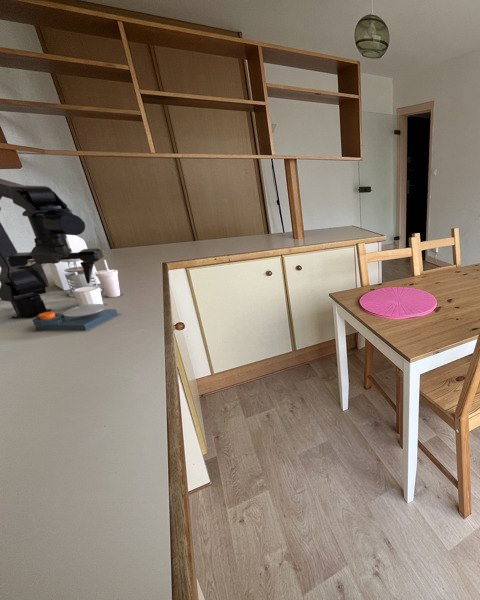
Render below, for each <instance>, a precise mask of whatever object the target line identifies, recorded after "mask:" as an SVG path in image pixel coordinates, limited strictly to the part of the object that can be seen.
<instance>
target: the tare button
mask: <svg viewBox="0 0 480 600" xmlns="http://www.w3.org/2000/svg"><path fill="white" fill-rule="evenodd" d="M55 313H56V312H54V311H49V312H45V313H41V314H39V315H38V316H37V317H39V318H40V320H46V319H51V318H54V317H56V316H55Z"/></svg>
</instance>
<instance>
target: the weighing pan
mask: <svg viewBox="0 0 480 600" xmlns="http://www.w3.org/2000/svg"><path fill="white" fill-rule="evenodd" d="M104 309H107V304H104V303H103V304H89V305H83V306H79V305H78V306H75V307H72V308H69V309H67V310H64V311H63V312H62V313H63V316H65V317H80V316H86V315H91V314H95V313H98V312H100V311H103V310H104Z"/></svg>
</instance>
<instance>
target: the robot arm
mask: <svg viewBox="0 0 480 600" xmlns="http://www.w3.org/2000/svg"><path fill="white" fill-rule="evenodd" d="M3 197H4V198H6V199H10V200H12V203H13V204H14V205H15V206H18V207H20V208H22V209H24V211H23V212H22V213H21V215H22V216H23V217H27V220H28V221H29V224H30V226H31V229H32V232H33V234H34V237H35V238H34V239H33V240H34V247H33V248H32V250H31V251H26V252H18V251H17V248H16V247H15V245H14V243H13V242H12V240H11V238H10V236H9V235H8V233H7V231H6V229H5V228H4V226H3V224H2V222H1V221H0V300H1V301H3V302H10V304H11V305H12V308H13V310H14V312H15V314H14V315H11V316H10V317H11V318H12V319H34V318H37V317H39V316H38V315H39V314H41V313H45V312H52V308H47V307H46V304H45V302H44V300H43V299H42V297H41V295H44V294H47V288H48V287H50V285H49V280H48V278H47V275H46V273H45V270H44V268H43V265H45V264H47V265H48V263H52V264H55V263H59V262H60V261H61V260H67V259H80V260H82V261H83V262H81V263H80V264H81V265H82V267H83V270H84V275H85V279H86V281H87V283H90V280H91V274H92V269H93V266H94V265H95V264H96V263H97V262H98V261H100V260H102V259H103V258H104V257H105V256H104V254H103V253H104V252H103V250H101V249H100V248H97V247H96V248H88V249H84V250H82V251H80V252H78V253H71V252H72V250H71V248H69V246H68V243H67V241H66V238H67V236H66V235H76V236H78V235H81V234H83V233H84V232H85V230H86V222H85V221H84V220H83V219H82V218H81V217H80V216H78V215H76V214H74V213H73V211H72V209H70V208H69V207H68V204H66V202H64V201H63V200H62V199H61V198H60V197H59V196H58V195H57V193H56V192H55V191H54V190H53V189H52V188H51V187H49V186H46V185H25V184H20V183H17V182H13V181H10V180H6V179H3V178H0V200H1V199H2V198H3ZM1 210H2V207H1V206H0V211H1ZM64 234H65V235H64Z"/></svg>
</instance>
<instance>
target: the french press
mask: <svg viewBox="0 0 480 600" xmlns="http://www.w3.org/2000/svg"><path fill="white" fill-rule="evenodd" d="M66 240H67V238H66ZM67 242H68V240H67ZM68 245H69V242H68ZM69 248H70V245H69ZM71 253H72V252H71ZM76 261H82V260H80V259H67V260H61V262H68V266H69V264H71V263H70V262H74V263H73V264H74V266H75V265H76ZM64 271H65V272H68V273H66V274H65V277H66V280H67V282H68V285H69V288H70V289H69V290H70V292H69V294H68V296H69V297H72V298H75V296H74V294H73V292H72V291H73V290H74V289H77V288H82V287H87V286H99V284H96V283H97V282H96V281H95V280H96V279H95V278H94V277H95V276H94V274H93V271H92V274H91V279H92V280H90V283H87V281H86V279H85V275H84V270H83V267H77V265H76V267H73V268H70V267H69V268H68V269H65V270H64ZM75 272H77V274H78V275H75ZM68 280H70V281H68ZM92 282H94V283H92ZM69 283H70V284H71V285H70V284H69ZM70 286H71V287H72V288H71V287H70ZM99 288H100V293H101V292H102V291H103V288H101V287H99Z"/></svg>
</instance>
